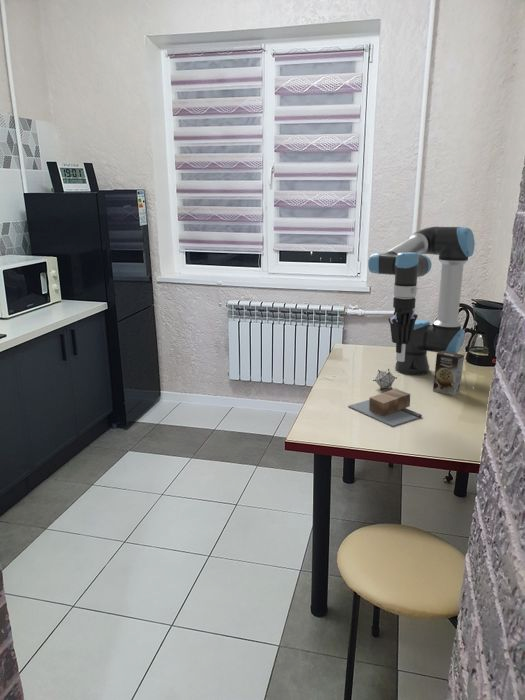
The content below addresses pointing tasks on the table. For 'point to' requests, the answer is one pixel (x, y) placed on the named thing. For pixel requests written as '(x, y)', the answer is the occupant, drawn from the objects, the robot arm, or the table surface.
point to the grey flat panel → (389, 419)
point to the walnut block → (389, 402)
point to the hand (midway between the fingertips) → (400, 360)
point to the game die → (385, 379)
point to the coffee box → (448, 373)
